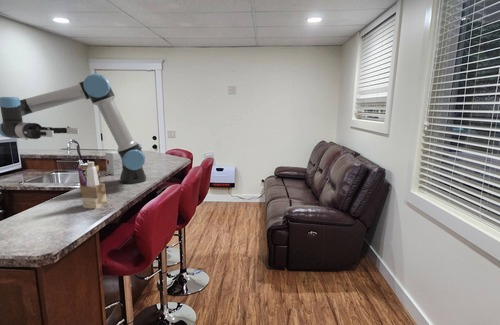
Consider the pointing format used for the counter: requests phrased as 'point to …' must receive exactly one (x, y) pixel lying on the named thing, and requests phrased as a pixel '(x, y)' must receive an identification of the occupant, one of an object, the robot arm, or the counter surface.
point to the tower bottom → (94, 202)
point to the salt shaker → (92, 175)
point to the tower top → (93, 191)
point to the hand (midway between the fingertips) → (66, 132)
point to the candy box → (85, 175)
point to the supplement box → (113, 163)
